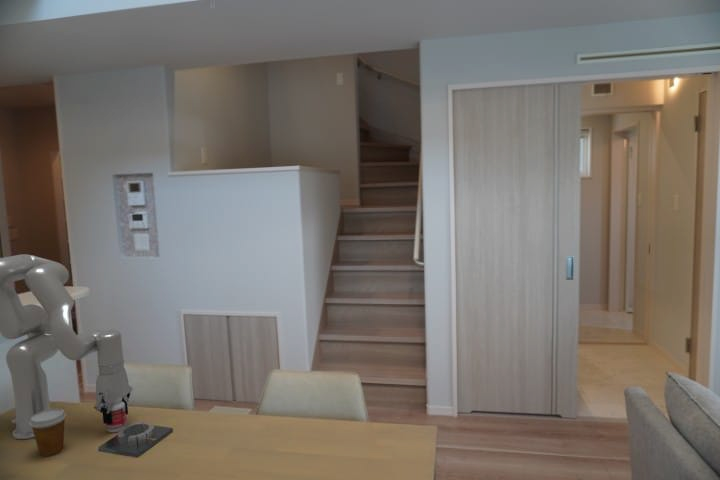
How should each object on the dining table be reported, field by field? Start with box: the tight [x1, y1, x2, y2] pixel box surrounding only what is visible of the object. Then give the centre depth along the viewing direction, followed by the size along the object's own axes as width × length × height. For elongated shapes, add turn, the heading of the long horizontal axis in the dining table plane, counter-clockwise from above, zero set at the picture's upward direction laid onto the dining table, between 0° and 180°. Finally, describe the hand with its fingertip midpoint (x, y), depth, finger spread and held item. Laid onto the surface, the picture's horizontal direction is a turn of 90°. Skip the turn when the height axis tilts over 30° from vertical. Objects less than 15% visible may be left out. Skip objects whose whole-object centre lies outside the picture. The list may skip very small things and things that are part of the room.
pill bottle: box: [105, 397, 128, 433], centre depth 163 cm, size 6×6×11 cm
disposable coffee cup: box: [30, 408, 67, 458], centre depth 150 cm, size 10×10×12 cm
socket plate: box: [98, 421, 174, 458], centre depth 155 cm, size 15×16×4 cm
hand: (116, 418), depth 164 cm, fingers closed on pill bottle, 6 cm apart
